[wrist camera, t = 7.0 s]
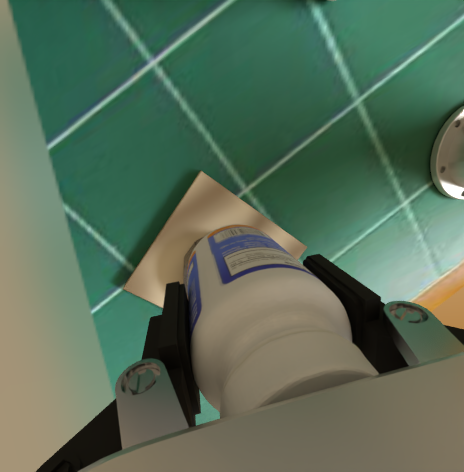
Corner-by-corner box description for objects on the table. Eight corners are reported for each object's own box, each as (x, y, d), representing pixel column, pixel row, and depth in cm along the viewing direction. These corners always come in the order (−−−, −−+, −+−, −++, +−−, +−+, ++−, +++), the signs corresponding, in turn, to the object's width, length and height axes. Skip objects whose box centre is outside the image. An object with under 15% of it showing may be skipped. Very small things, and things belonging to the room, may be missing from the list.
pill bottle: (236, 321, 16) (311, 548, 7) (166, 275, 14) (136, 496, 5) (295, 258, 15) (466, 409, 6) (230, 200, 13) (333, 292, 4)
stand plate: (301, 243, 33) (307, 247, 31) (231, 334, 35) (234, 341, 34) (200, 170, 28) (201, 171, 26) (125, 282, 30) (123, 288, 28)
